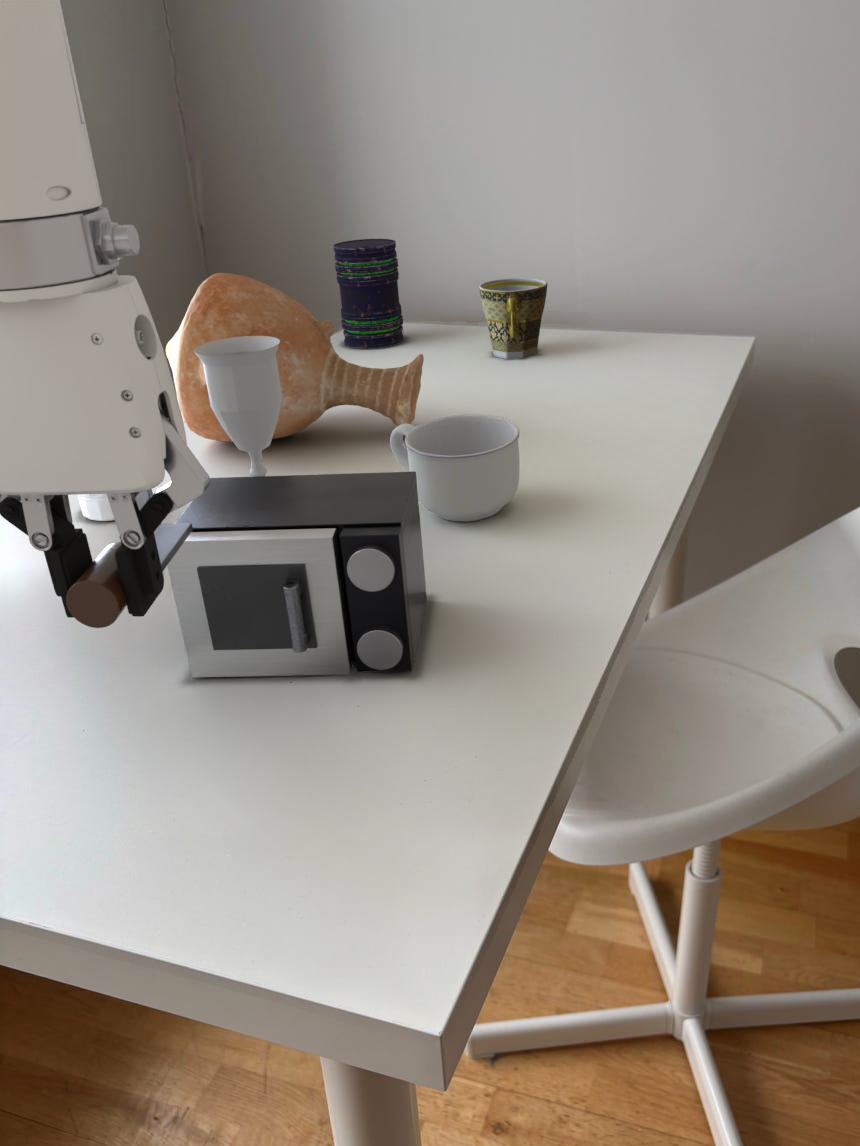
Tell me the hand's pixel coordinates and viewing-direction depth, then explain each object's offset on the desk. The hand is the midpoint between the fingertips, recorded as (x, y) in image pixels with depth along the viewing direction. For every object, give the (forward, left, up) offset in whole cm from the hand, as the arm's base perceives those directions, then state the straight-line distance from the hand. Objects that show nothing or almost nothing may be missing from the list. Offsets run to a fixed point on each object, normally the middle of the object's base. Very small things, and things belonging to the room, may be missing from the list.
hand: (114, 603), depth 56 cm
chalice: (-2, +37, -13) cm, 40 cm away
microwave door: (+4, +13, -13) cm, 18 cm away
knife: (0, +3, 0) cm, 4 cm away
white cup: (-20, +46, -13) cm, 52 cm away
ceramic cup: (+20, +103, -13) cm, 106 cm away
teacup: (+15, +44, -13) cm, 49 cm away
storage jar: (-3, +116, -13) cm, 117 cm away
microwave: (+6, +18, -13) cm, 23 cm away
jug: (-5, +67, -13) cm, 69 cm away
